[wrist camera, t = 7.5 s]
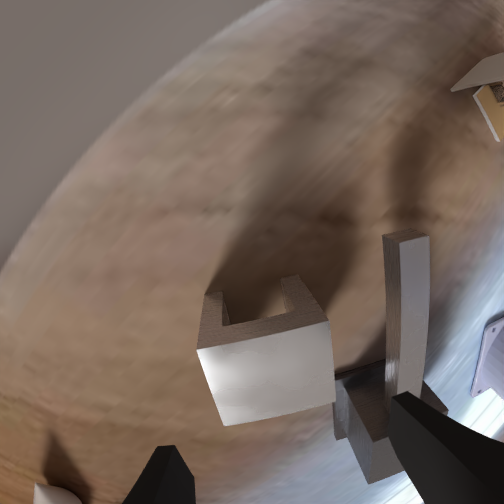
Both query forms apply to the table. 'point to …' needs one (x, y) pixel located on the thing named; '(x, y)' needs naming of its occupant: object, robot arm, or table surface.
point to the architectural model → (487, 91)
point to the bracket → (267, 357)
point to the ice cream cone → (53, 495)
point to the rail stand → (390, 359)
